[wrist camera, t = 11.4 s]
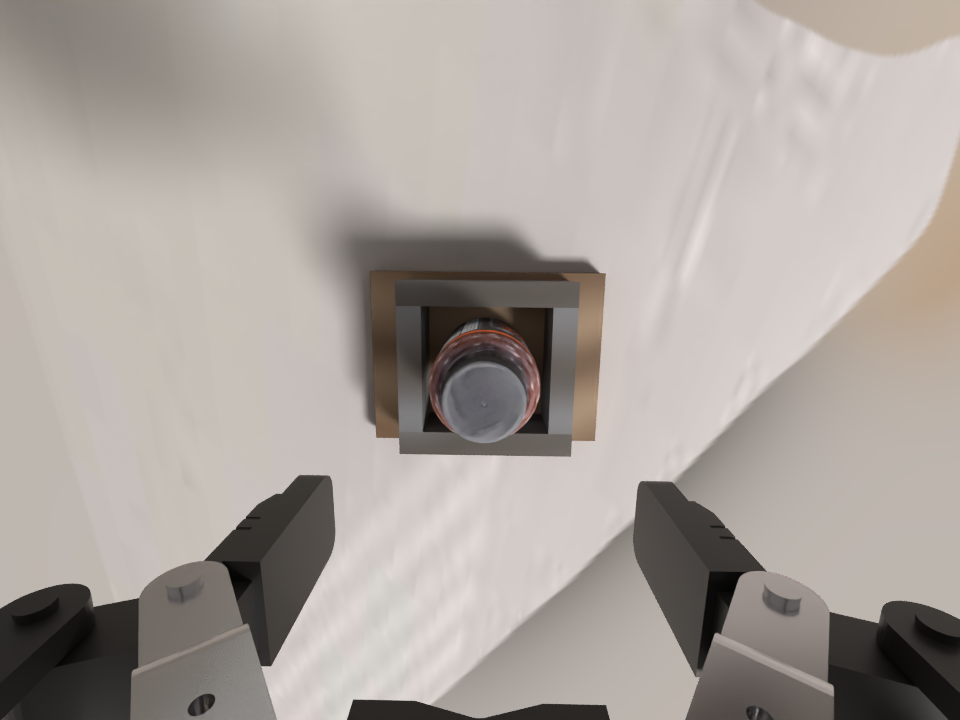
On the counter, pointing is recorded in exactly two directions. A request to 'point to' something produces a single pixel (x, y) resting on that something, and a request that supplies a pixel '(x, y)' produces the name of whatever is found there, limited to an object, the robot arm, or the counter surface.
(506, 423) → the supplement bottle
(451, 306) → the socket stand
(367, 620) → the counter surface
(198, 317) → the counter surface
